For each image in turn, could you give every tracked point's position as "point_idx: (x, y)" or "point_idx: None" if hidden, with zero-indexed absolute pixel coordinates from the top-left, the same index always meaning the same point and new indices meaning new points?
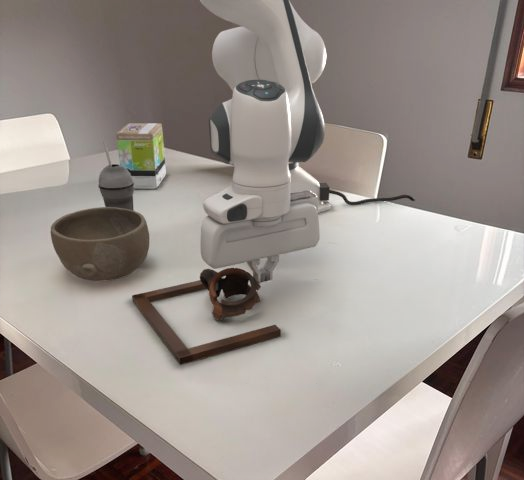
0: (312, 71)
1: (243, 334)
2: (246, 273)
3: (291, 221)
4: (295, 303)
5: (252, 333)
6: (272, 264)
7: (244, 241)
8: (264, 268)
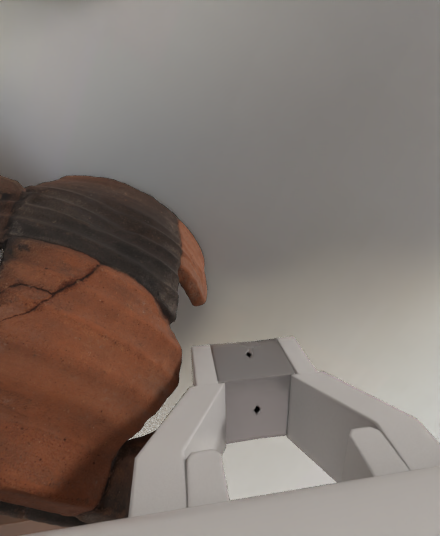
0: None
1: (30, 525)
2: (87, 522)
3: None
4: (326, 344)
5: (64, 527)
6: (333, 476)
7: None
8: (288, 383)
